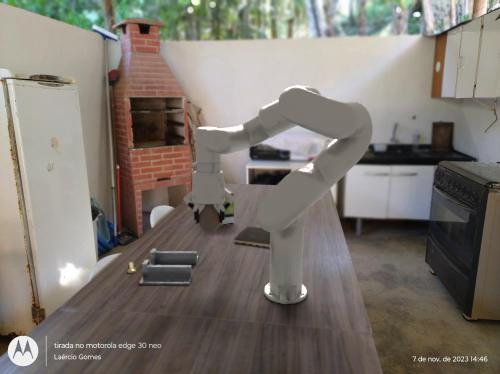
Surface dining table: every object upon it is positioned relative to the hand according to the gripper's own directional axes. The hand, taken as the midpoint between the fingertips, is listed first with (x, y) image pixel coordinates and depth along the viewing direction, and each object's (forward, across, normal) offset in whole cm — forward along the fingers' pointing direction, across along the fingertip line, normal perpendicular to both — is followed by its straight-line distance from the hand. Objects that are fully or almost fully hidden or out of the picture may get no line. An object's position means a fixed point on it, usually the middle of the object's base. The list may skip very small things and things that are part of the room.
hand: (209, 221), depth 120 cm
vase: (+3, 0, 0) cm, 3 cm away
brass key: (+18, -27, +4) cm, 33 cm away
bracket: (+18, -13, +3) cm, 22 cm away
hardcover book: (+19, +21, +29) cm, 40 cm away
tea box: (+18, 0, +54) cm, 57 cm away
